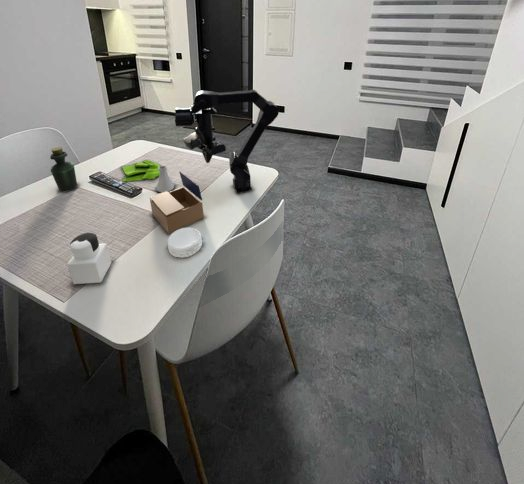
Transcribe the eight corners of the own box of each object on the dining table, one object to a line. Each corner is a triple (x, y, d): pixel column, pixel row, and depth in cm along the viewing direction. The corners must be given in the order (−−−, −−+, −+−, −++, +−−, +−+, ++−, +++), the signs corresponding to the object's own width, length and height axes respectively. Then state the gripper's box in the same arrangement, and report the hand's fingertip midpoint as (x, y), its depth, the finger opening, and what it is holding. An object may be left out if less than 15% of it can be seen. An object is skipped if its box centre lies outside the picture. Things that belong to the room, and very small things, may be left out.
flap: (183, 185, 108) (184, 184, 108) (201, 200, 98) (202, 200, 99) (179, 171, 105) (180, 170, 105) (197, 185, 96) (198, 185, 96)
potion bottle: (83, 182, 124) (73, 144, 117) (72, 192, 117) (60, 152, 110) (64, 183, 124) (53, 144, 117) (52, 193, 116) (39, 153, 110)
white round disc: (185, 263, 82) (183, 254, 80) (161, 250, 87) (160, 241, 85) (208, 242, 89) (207, 233, 88) (186, 231, 94) (184, 222, 93)
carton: (185, 200, 111) (183, 184, 108) (203, 217, 101) (202, 200, 98) (152, 214, 103) (149, 197, 100) (168, 234, 93) (165, 215, 91)
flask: (169, 193, 116) (165, 172, 112) (153, 192, 117) (149, 170, 113) (177, 184, 122) (174, 164, 119) (162, 183, 124) (158, 162, 120)
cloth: (157, 181, 125) (156, 176, 124) (107, 181, 125) (106, 176, 124) (171, 161, 144) (171, 156, 143) (128, 161, 144) (127, 156, 143)
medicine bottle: (86, 264, 82) (75, 230, 77) (112, 262, 82) (103, 228, 78) (73, 285, 75) (60, 249, 70) (101, 283, 76) (90, 247, 71)
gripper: (173, 123, 109) (178, 160, 115) (197, 136, 96) (201, 177, 101) (199, 118, 115) (202, 153, 121) (225, 129, 102) (227, 168, 108)
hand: (207, 162), depth 113 cm, fingers closed
